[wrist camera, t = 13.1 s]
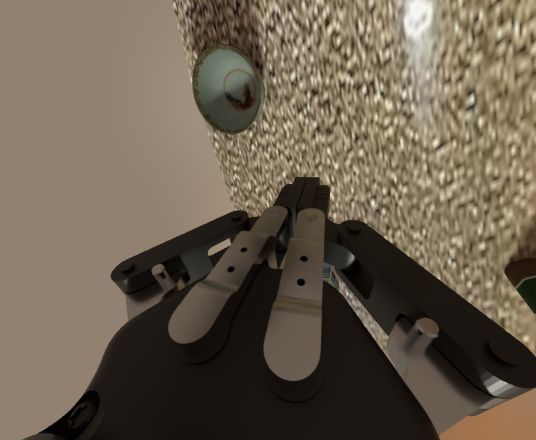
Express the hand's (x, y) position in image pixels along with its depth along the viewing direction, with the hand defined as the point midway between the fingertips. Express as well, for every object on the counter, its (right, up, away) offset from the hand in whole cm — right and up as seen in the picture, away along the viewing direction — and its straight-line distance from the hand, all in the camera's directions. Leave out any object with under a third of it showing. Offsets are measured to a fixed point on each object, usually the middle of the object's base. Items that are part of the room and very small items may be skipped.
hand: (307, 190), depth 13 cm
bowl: (-8, +25, +29) cm, 39 cm away
